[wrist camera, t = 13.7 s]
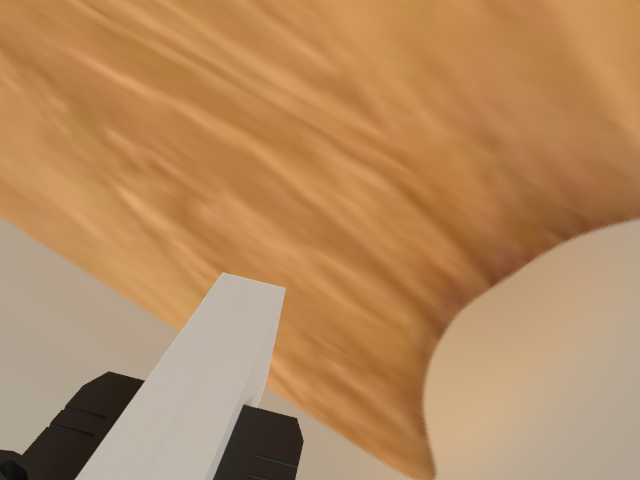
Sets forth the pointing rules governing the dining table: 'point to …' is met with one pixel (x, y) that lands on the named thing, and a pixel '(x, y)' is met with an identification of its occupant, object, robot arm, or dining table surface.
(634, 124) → the dining table surface
